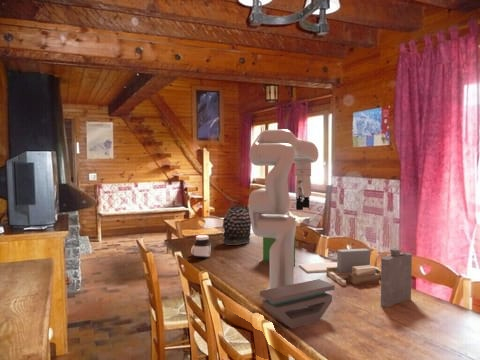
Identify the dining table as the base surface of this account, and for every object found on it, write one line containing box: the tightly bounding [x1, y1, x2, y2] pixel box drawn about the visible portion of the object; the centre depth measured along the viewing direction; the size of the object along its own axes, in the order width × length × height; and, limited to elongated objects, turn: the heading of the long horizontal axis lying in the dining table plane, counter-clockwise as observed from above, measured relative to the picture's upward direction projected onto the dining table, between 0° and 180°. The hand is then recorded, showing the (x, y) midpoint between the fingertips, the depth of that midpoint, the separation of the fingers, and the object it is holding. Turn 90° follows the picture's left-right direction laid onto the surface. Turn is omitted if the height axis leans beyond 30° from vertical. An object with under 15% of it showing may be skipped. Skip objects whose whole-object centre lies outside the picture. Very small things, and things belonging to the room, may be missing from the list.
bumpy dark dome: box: [222, 204, 252, 246], centre depth 250 cm, size 21×15×25 cm
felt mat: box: [298, 261, 337, 274], centre depth 193 cm, size 12×22×1 cm, turn 100°
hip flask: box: [380, 247, 413, 308], centre depth 147 cm, size 16×4×20 cm, turn 123°
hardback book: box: [262, 217, 296, 266], centre depth 203 cm, size 18×7×24 cm, turn 31°
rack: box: [326, 264, 381, 287], centre depth 176 cm, size 17×22×4 cm
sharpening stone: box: [259, 278, 336, 329], centre depth 131 cm, size 25×8×11 cm, turn 120°
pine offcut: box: [352, 264, 377, 276], centre depth 171 cm, size 4×9×3 cm, turn 107°
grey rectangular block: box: [336, 248, 371, 273], centre depth 180 cm, size 4×14×12 cm, turn 100°
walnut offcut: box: [347, 273, 380, 286], centre depth 171 cm, size 5×12×4 cm, turn 102°
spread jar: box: [190, 234, 212, 260], centre depth 216 cm, size 12×11×12 cm
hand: (302, 208), depth 189 cm, fingers open, 9 cm apart
